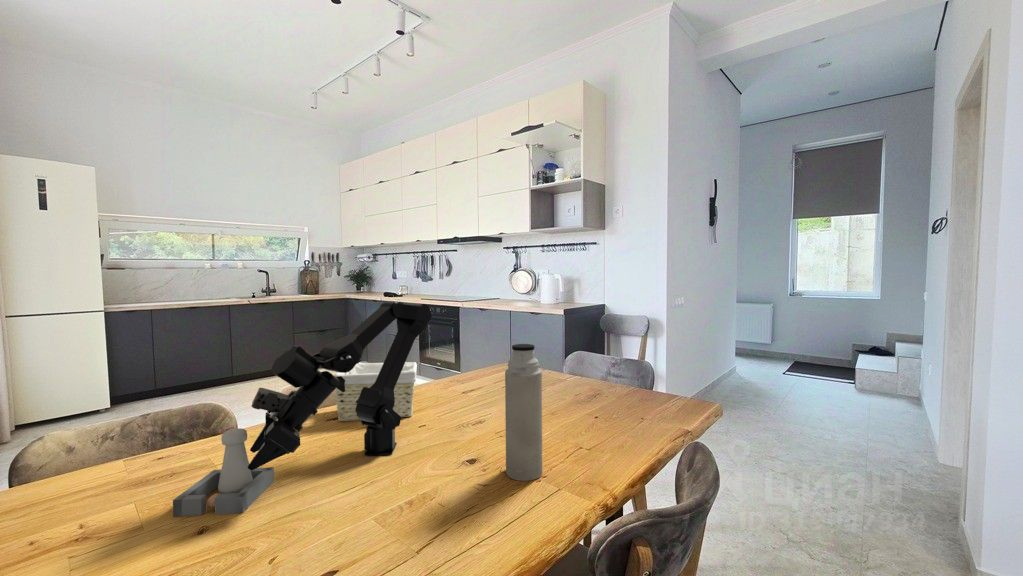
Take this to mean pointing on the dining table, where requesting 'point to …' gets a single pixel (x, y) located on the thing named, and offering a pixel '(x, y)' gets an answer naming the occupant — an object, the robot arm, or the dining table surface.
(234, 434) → the salt shaker
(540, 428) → the thermos bottle
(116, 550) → the dining table surface
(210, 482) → the grey square frame
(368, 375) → the storage basket
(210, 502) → the plunger left
